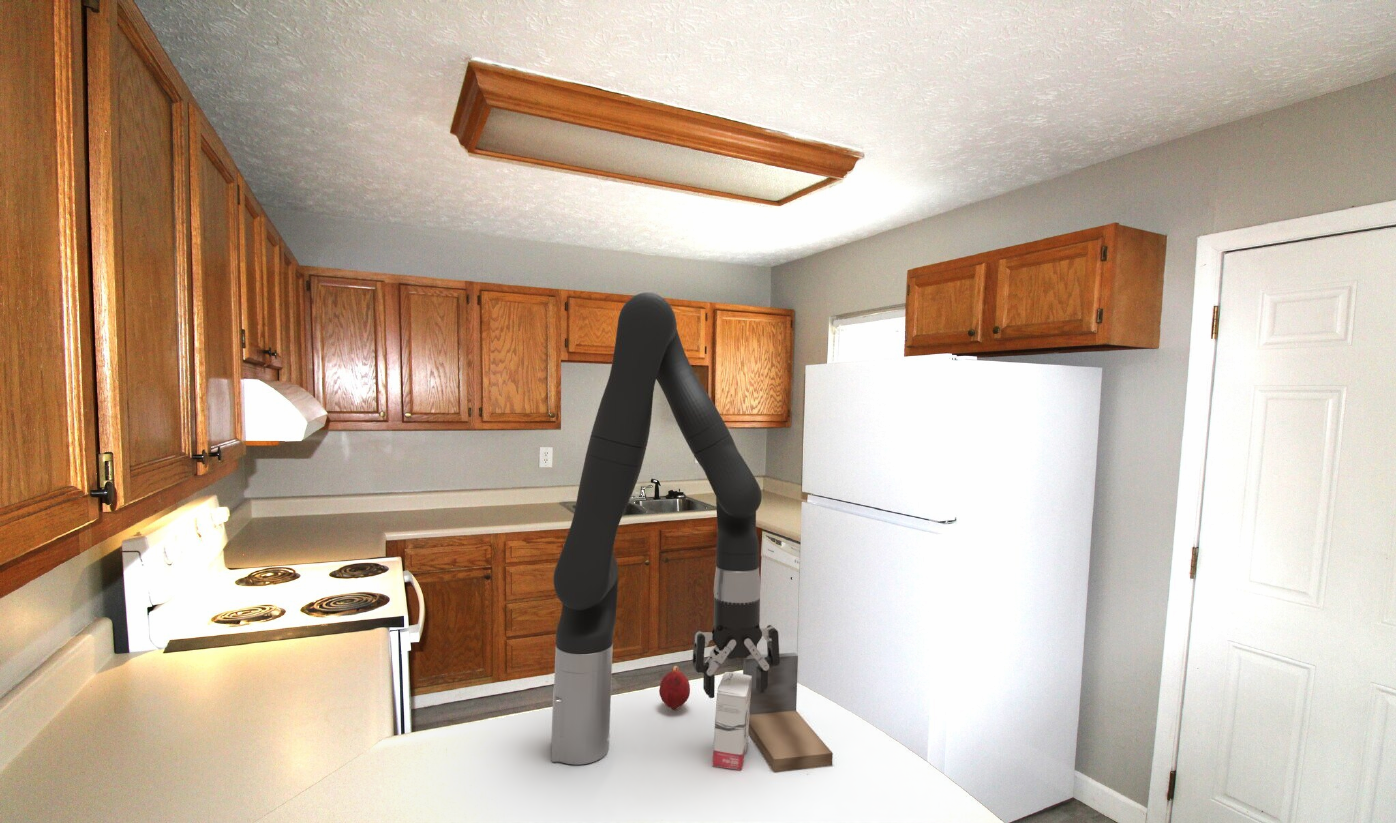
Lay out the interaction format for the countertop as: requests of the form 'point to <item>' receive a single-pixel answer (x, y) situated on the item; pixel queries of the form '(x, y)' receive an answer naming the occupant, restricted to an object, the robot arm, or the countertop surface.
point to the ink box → (732, 720)
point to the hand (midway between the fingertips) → (735, 693)
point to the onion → (674, 689)
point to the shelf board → (783, 720)
